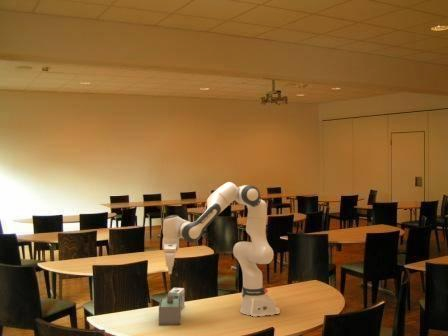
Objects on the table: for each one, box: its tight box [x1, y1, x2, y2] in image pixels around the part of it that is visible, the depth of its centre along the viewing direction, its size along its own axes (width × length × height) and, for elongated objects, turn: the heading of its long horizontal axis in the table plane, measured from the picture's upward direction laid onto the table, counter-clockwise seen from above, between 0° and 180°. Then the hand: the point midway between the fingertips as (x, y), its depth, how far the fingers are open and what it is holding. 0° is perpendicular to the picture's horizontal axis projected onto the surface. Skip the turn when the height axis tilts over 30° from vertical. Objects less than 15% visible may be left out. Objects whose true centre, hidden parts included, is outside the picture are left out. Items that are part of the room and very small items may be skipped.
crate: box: [158, 298, 182, 326], centre depth 243 cm, size 11×15×9 cm
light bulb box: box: [167, 287, 185, 310], centre depth 262 cm, size 11×7×11 cm, turn 168°
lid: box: [161, 295, 179, 307], centre depth 242 cm, size 9×13×5 cm
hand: (170, 271), depth 242 cm, fingers open, 8 cm apart
